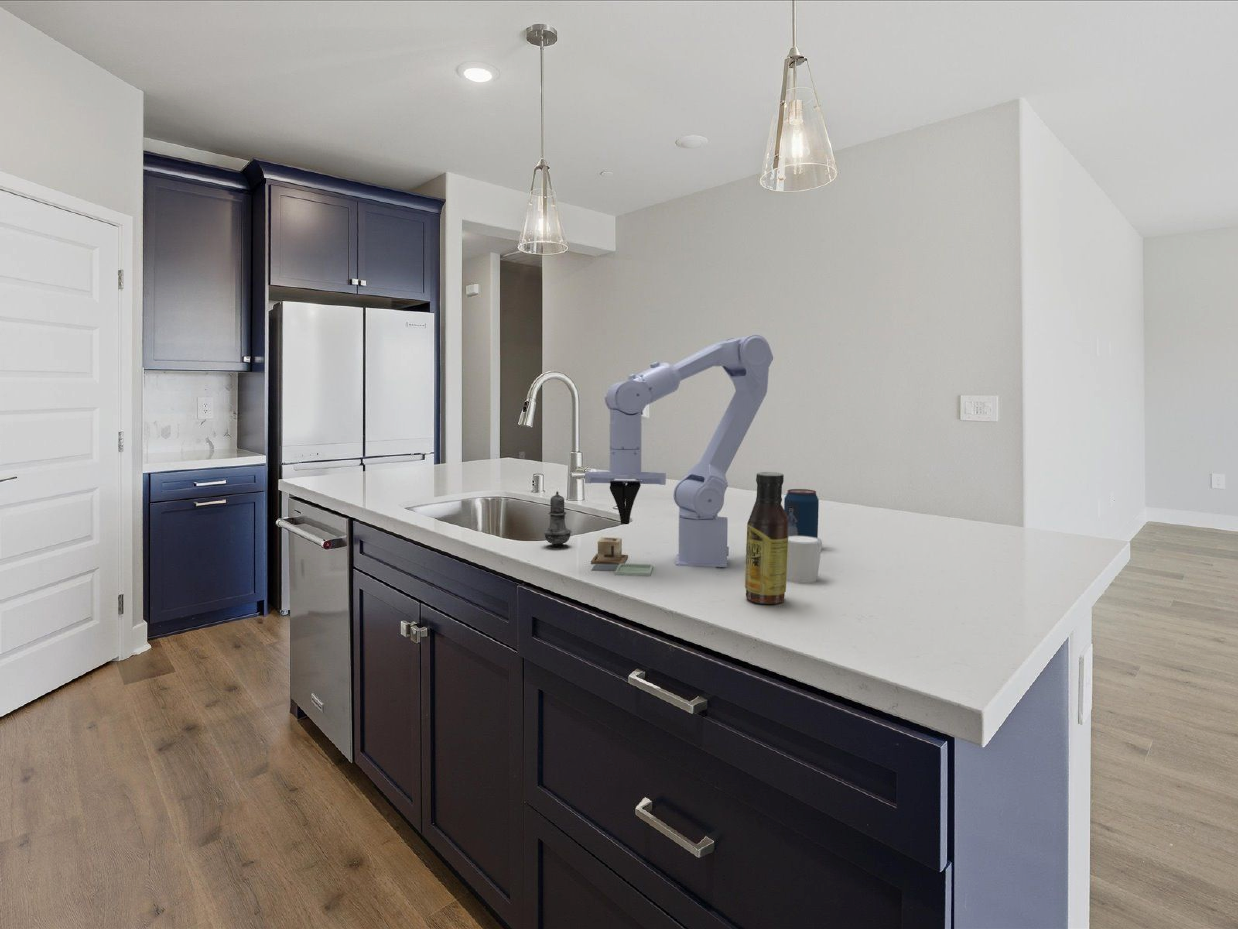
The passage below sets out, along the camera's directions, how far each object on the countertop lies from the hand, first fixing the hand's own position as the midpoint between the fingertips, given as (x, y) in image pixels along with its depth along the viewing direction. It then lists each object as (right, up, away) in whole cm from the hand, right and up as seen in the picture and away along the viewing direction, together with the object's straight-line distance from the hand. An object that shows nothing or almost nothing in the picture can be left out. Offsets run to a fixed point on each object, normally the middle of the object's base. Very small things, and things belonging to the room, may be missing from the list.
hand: (625, 523), depth 124 cm
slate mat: (-4, -8, 0) cm, 9 cm away
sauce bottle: (+22, -11, -18) cm, 30 cm away
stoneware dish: (+2, -9, -2) cm, 9 cm away
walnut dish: (-3, -8, +6) cm, 10 cm away
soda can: (+37, -7, +19) cm, 42 cm away
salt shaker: (-14, -7, +18) cm, 24 cm away
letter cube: (-3, -8, +6) cm, 10 cm away
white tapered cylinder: (+30, -9, -5) cm, 32 cm away
